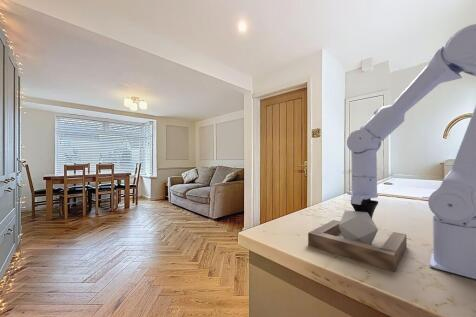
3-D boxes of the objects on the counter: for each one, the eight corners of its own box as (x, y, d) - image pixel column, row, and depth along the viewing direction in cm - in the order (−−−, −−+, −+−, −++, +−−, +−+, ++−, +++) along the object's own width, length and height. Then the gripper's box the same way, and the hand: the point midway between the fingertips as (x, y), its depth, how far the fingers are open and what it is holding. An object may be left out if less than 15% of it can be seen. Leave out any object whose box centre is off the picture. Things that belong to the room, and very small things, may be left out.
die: (376, 243, 53) (352, 209, 58) (394, 237, 46) (365, 199, 50) (348, 255, 52) (326, 220, 57) (362, 252, 45) (336, 211, 50)
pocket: (406, 246, 49) (406, 234, 49) (394, 271, 38) (393, 255, 38) (333, 230, 61) (333, 219, 61) (308, 244, 50) (308, 232, 50)
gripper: (355, 174, 63) (356, 219, 62) (337, 177, 52) (338, 230, 52) (383, 175, 57) (384, 224, 57) (369, 178, 47) (370, 237, 47)
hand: (364, 227), depth 54 cm, fingers closed
